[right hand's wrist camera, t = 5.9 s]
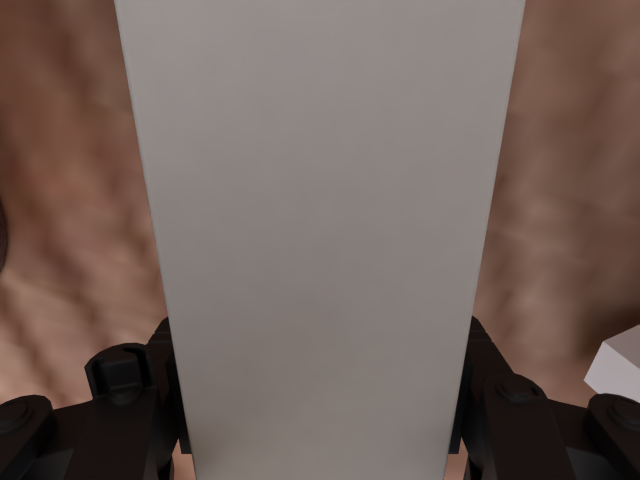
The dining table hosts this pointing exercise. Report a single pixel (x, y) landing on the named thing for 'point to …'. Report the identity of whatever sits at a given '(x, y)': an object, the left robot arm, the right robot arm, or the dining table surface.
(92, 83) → the dining table surface
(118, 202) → the dining table surface
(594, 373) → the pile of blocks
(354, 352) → the bar
